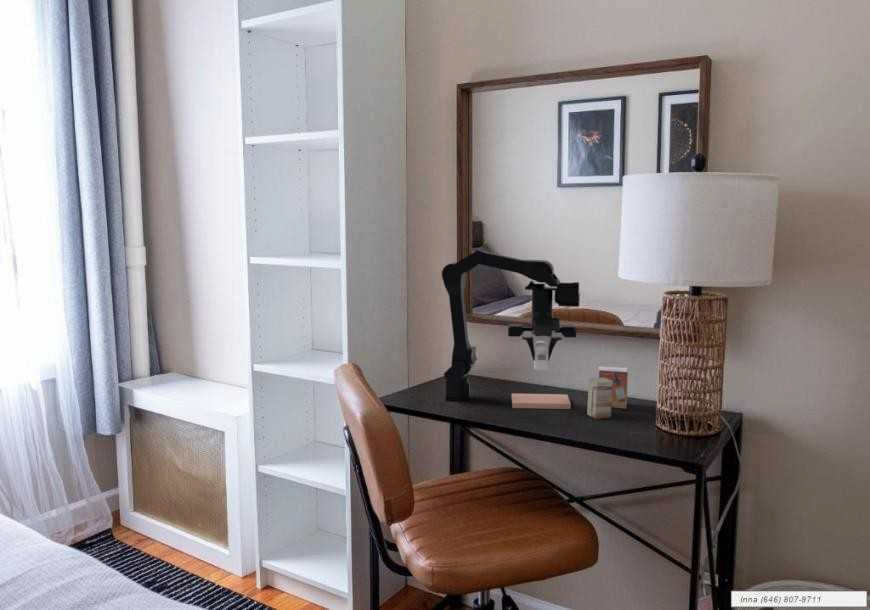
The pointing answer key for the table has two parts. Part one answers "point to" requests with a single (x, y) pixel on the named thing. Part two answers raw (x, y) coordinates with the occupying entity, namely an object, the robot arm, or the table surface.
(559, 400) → the terracotta tile
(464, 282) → the robot arm
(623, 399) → the small box
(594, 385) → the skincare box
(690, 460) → the table surface
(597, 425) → the table surface
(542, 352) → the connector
